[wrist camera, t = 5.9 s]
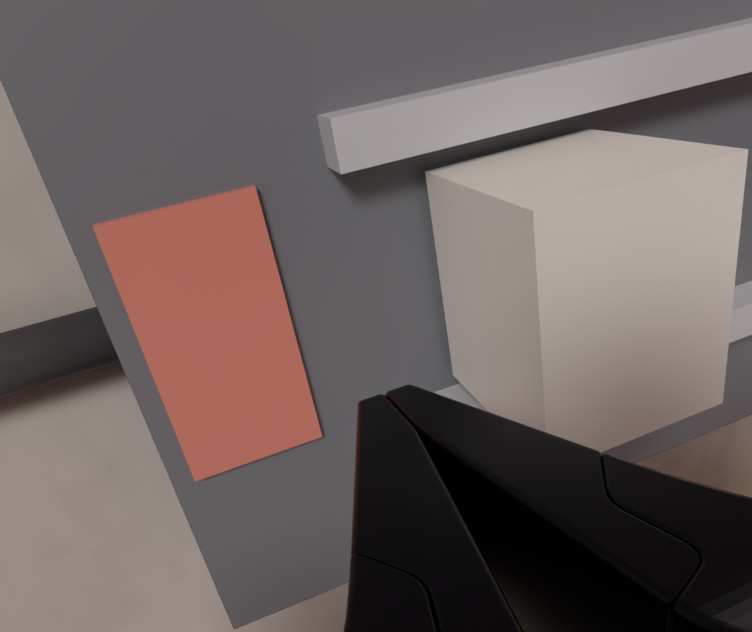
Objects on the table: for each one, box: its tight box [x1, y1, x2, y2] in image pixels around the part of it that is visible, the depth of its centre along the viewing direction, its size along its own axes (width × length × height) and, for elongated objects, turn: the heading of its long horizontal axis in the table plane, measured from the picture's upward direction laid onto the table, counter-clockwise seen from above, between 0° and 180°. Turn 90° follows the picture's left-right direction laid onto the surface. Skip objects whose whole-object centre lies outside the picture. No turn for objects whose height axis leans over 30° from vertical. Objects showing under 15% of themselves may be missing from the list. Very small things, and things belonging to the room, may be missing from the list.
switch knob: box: [425, 129, 748, 453], centre depth 12 cm, size 4×5×4 cm
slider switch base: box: [0, 0, 752, 629], centre depth 14 cm, size 36×16×4 cm, turn 101°
